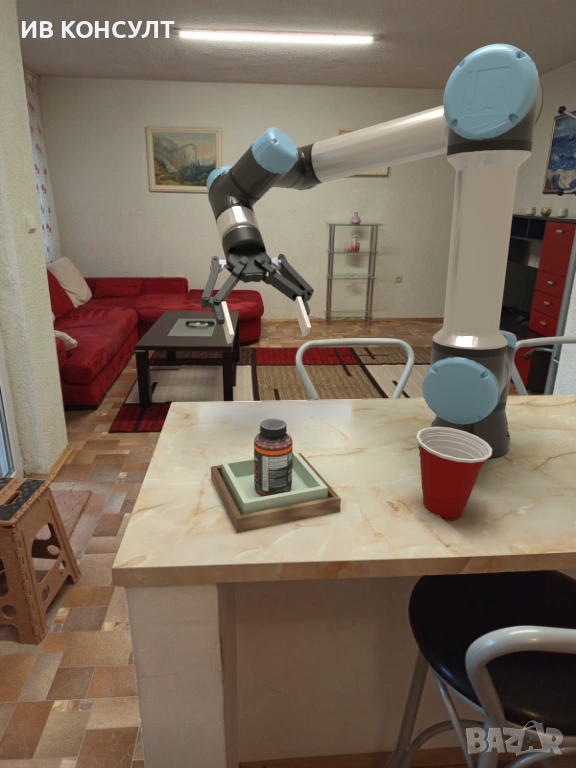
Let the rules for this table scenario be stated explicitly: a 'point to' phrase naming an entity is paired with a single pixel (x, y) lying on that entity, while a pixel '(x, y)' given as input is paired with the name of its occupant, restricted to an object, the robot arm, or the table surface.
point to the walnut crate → (276, 514)
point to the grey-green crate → (249, 500)
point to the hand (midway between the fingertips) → (270, 335)
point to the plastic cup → (449, 468)
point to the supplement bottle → (273, 458)
